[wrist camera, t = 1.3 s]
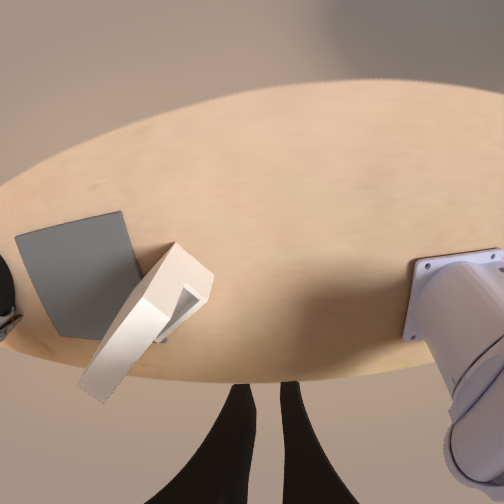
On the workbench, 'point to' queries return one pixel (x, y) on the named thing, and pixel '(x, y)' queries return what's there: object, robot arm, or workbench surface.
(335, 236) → the workbench surface
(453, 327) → the robot arm
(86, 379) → the white angled block
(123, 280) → the rubber mat
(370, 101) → the workbench surface
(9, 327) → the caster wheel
